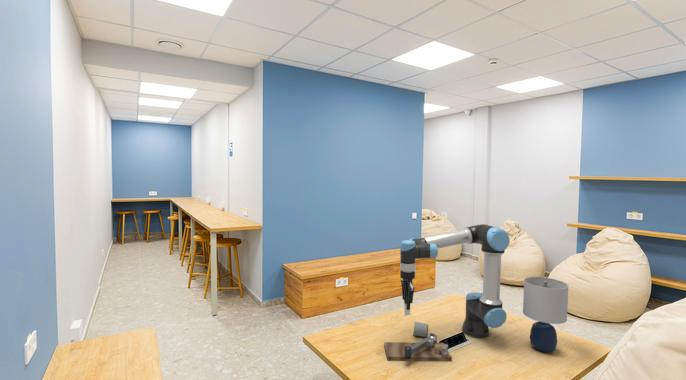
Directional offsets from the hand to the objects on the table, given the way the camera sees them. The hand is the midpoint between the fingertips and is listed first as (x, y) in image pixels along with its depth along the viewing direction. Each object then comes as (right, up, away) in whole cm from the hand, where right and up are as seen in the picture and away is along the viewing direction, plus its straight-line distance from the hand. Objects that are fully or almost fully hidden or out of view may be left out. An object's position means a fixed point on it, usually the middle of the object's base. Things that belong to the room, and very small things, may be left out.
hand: (407, 314), depth 185 cm
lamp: (+73, -20, +4) cm, 76 cm away
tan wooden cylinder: (+15, -18, -5) cm, 24 cm away
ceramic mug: (+11, -19, +19) cm, 29 cm away
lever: (+6, -16, -5) cm, 18 cm away
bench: (+4, -19, -2) cm, 20 cm away
